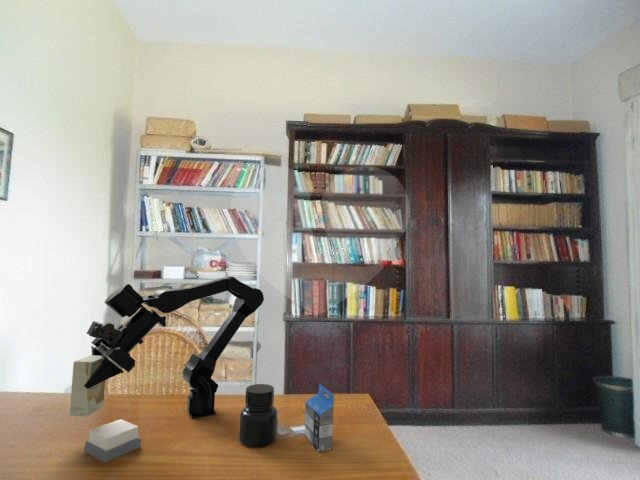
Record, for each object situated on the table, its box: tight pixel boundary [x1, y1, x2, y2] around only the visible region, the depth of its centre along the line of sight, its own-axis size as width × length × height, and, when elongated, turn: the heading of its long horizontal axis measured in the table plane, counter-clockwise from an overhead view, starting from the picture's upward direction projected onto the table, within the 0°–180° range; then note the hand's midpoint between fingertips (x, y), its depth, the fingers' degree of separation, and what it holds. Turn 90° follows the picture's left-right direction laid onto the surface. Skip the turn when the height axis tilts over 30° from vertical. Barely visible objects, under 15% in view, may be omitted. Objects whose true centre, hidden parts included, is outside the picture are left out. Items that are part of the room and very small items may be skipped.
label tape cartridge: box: [304, 383, 335, 453], centre depth 87 cm, size 9×4×12 cm, turn 24°
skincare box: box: [69, 354, 107, 418], centre depth 85 cm, size 6×4×12 cm
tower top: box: [88, 418, 139, 451], centre depth 81 cm, size 7×7×2 cm
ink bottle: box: [238, 383, 279, 448], centre depth 88 cm, size 10×9×12 cm
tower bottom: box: [84, 436, 142, 463], centre depth 81 cm, size 8×8×2 cm
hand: (82, 383), depth 84 cm, fingers closed on skincare box, 7 cm apart
